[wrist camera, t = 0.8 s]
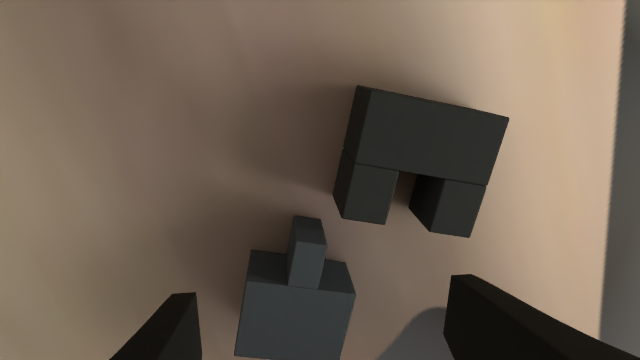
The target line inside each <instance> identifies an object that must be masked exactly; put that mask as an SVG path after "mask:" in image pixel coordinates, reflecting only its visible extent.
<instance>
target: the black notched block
mask: <svg viewBox="0 0 640 360" xmlns="http://www.w3.org/2000/svg"><path fill="white" fill-rule="evenodd" d="M508 122H509V118H508V117H505V116H500V115H496V114H492V113H488V112H484V111H480V110H476V109H471V108H466V107H461V106H457V105H452V104H447V103H442V102H437V101H432V100H427V99H423V98H418V97H413V96H408V95H403V94H398V93H394V92H389V91H384V90H379V89H374V88H369V87H365V86H360V85H357V87H356V91H355V96H354V100H353V105H352V109H351V114H350V118H349V123H348V127H347V132H346V136H345V141H344V145H343V148H344V149H343V150H342V155H341V159H340V164H339V168H338V173H337V177H336V182H335V187H334V191H333V198H334V200H335V203H336V205H337V208H338V210H339V213H340V215H341V218H343V219H349V220H355V221H362V222H368V223H375V224H382V225H385V223H386V220H387V216H388V212H389V209H390V205H391V201H392V197H393V193H394V190H395V186H396V182H397V178H398V175H399V171H405V172H410V173H416V174H418V175H417V179H416V182H415V186H414V189H413V193H412V197H411V200H410V204H409V209H410V210H411V212H412V213H413V214H414V215H415V216H416V217H417V218H418V219H419V221H420V222H421V223H422V224H423V225H424V226H425V227H426V229H427V230H428V231H429V232H434V233H440V234H447V235H454V236H460V237H467V238H469V237H470V236H471V233H472V230H473V227H474V224H475V221H476V218H477V215H478V212H479V209H480V206H481V203H482V199H483V196H484V193H485V190H486V185H488V182H489V179H490V176H491V173H492V170H493V167H494V164H495V161H496V158H497V155H498V152H499V149H500V146H501V143H502V140H503V137H504V134H505V131H506V128H507V125H508ZM398 170H399V171H398Z"/></svg>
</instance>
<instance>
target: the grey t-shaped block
mask: <svg viewBox="0 0 640 360" xmlns="http://www.w3.org/2000/svg"><path fill="white" fill-rule="evenodd" d="M327 247H328V246H327V242H326V238H325V234H324V230H323V227H322V223H321V220H320V219H315V218H308V217H301V216H294V217H293V222H292V227H291V232H290V237H289V242H288V248H287V253H286V254H278V253H271V252H263V251H256V250H251V253H250V259H249V265H248V271H247V277H246V283H245V289H244V295H243V301H242V307H241V313H240V319H239V325H238V332H237V338H236V345H235V351H234V356H240V357H250V358H261V359H272V360H339V359H340V356H341V352H342V348H343V344H344V340H345V336H346V332H347V328H348V324H349V321H350V317H351V313H352V309H353V305H354V301H355V297H356V293H355V290H354V287H353V284H352V281H351V277H350V274H349V271H348V268H347V265H346V263H345V262H338V261H330V260H325V255H326V251H327Z"/></svg>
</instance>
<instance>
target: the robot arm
mask: <svg viewBox="0 0 640 360" xmlns="http://www.w3.org/2000/svg"><path fill="white" fill-rule="evenodd" d="M443 334H444V337H445V339H446V341H447V344H448V346H449V348H450V351H451V353H452V355H453V357H454V359H455V360H640V358H639V357H636V356H634V355H632V354H629V353H627V352H624V351H622V350H620V349H618V348H615V347H613V346H611V345H608V344H606V343H603V342H601V341H599V340H597V339H595V338H593V337H591V336H588V335H586V334H584V333H582V332H580V331H578V330H576V329H574V328H572V327H570V326H568V325H566V324H564V323H562V322H560V321H558V320H556V319H554V318H552V317H550V316H549V315H547V314H545V313H543V312H541V311H539V310H537V309H536V308H534V307H532V306H530V305H528V304H526V303H525V302H523V301H521V300H519V299H517V298H516V297H514V296H512V295H510V294H508V293H507V292H505V291H503V290H501V289H499V288H498V287H496V286H494V285H492V284H490V283H488V282H486V281H484V280H483V279H480V278H478V277H476V276H474V275H472V274H466V275H451V281H450V289H449V296H448V303H447V310H446V317H445V325H444V332H443ZM109 360H202V347H201V337H200V327H199V317H198V307H197V297H196V292H192V293H176V294H172V295H171V296H170V297H169V298H168V299H167V300H166V301H165V302H164V303H163V304H162V305H161V306H160V307H159V308H158V309H157V311H156V312H155V313H154V314H153V315H152V316H151V317H150V318H149V319H148V320H147V322H146V323H145V324H144V325H143V326H142V327H141V328H140V329H139V330H138V331H137V332H136V333H135V334H134V335H133V336H132V337H131V338H130V339H129V340H128V342H127V343H126V344H125V345H124V346H123V347H122V348H121V349H120V350H119V351H118V352H117V353H116V354H115V355H114V356H113V357H112V358H110V359H109Z"/></svg>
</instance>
